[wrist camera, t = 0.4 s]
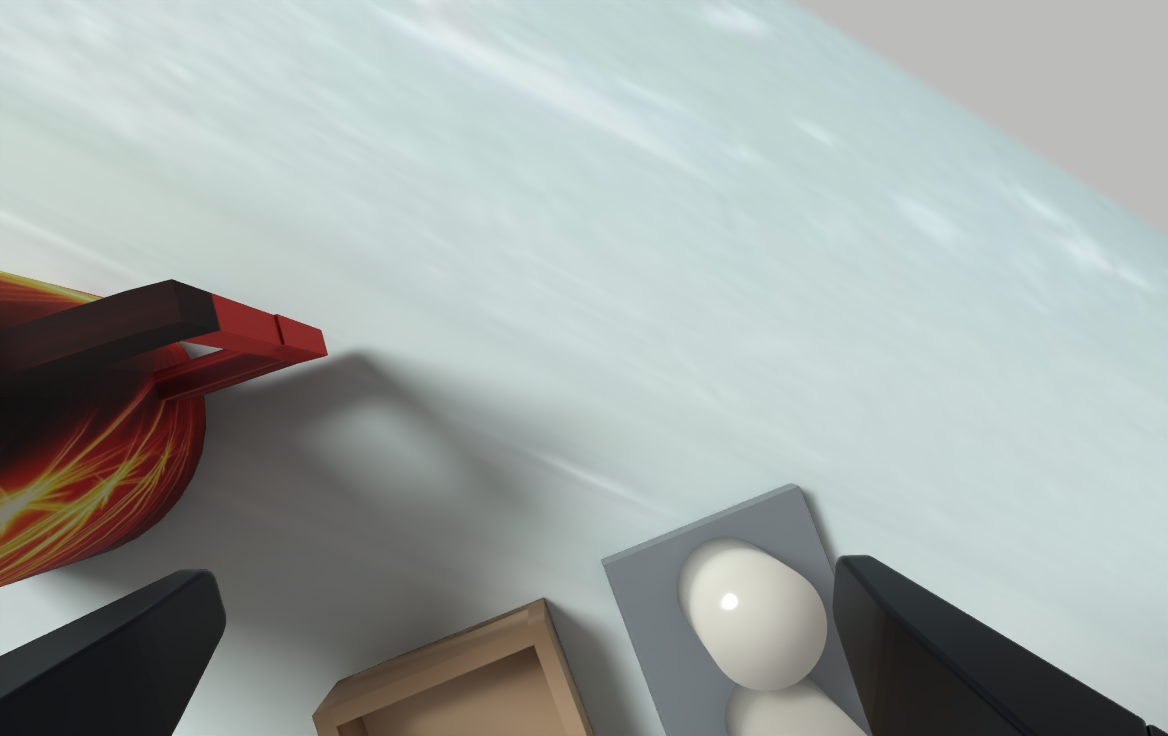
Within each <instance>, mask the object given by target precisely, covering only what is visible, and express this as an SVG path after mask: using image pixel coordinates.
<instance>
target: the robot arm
mask: <svg viewBox="0 0 1168 736" xmlns="http://www.w3.org/2000/svg"><path fill="white" fill-rule="evenodd" d="M832 613H833V619H834V623H835V626H836V629H837V632H838V635H839V638H840V641H841V644H842V647H843V650H844V653H845V656H846V659H847V662H848V665H849V668H850V672H851V675H852V678H853V681H854V684H855V687H856V690H857V693H858V696H859V699H860V702H861V705H862V708H863V711H864V714H865V717H866V719H867V722H868V725H869V728H870V731H871V733H872V735H873V736H1168V734H1167V733H1166V732H1164V731H1162V730H1161V729H1159V728H1157V727H1156V726H1154V725H1147V726H1146V723H1145V721H1144V720H1143V719H1142V718H1140V717H1139V716H1137V715H1135V714H1134V713H1132V712H1130V711H1129V710H1127V709H1125V708H1124V707H1122V706H1120V705H1119V704H1117V703H1115V702H1114V701H1112V700H1110V699H1109V698H1107V697H1105V696H1104V695H1102V694H1100V693H1099V692H1097V691H1095V690H1094V689H1092V688H1090V687H1089V686H1087V685H1085V684H1084V683H1082V682H1080V681H1079V680H1077V679H1075V678H1074V677H1072V676H1070V675H1069V674H1067V673H1065V672H1064V671H1062V670H1060V669H1059V668H1057V667H1055V666H1054V665H1052V664H1050V663H1049V662H1047V661H1045V660H1044V659H1042V658H1040V657H1039V656H1037V655H1035V654H1034V653H1032V652H1030V651H1029V650H1027V649H1025V648H1024V647H1022V646H1020V645H1019V644H1017V643H1015V642H1014V641H1012V640H1010V639H1009V638H1007V637H1005V636H1004V635H1002V634H1000V633H999V632H997V631H995V630H994V629H992V628H990V627H989V626H987V625H985V624H983V623H982V622H980V621H978V620H977V619H975V618H973V617H972V616H970V615H968V614H967V613H965V612H963V611H962V610H960V609H958V608H957V607H955V606H953V605H952V604H950V603H948V602H947V601H945V600H943V599H942V598H940V597H938V596H937V595H935V594H933V593H932V592H930V591H928V590H927V589H925V588H923V587H922V586H920V585H918V584H917V583H915V582H913V581H912V580H910V579H908V578H907V577H905V576H903V575H902V574H900V573H898V572H897V571H895V570H893V569H892V568H890V567H888V566H887V565H885V564H883V563H882V562H880V561H878V560H877V559H875V558H873V557H871V556H869V555H843V556H841V557H840V558H838V560H837V563H836V567H835V578H834V588H833V598H832ZM225 625H226V614H225V610H224V606H223V603H222V599H221V596H220V592H219V589H218V585H217V582H216V578H215V576H214V575H213V573H212V572H211V571H209V570H206V569H200V570H181V571H177V572H175V573H173V574H171V575H169V576H166V577H164V578H162V579H160V580H158V581H156V582H154V583H152V584H150V585H148V586H146V587H144V588H141V589H139V590H137V591H135V592H133V593H131V594H129V595H127V596H125V597H123V598H121V599H119V600H116V601H114V602H112V603H110V604H108V605H106V606H104V607H102V608H100V609H98V610H96V611H93V612H91V613H89V614H87V615H85V616H83V617H81V618H79V619H77V620H75V621H73V622H71V623H68V624H66V625H64V626H62V627H60V628H58V629H56V630H54V631H52V632H50V633H48V634H46V635H43V636H41V637H39V638H37V639H35V640H33V641H31V642H29V643H27V644H25V645H23V646H21V647H18V648H16V649H14V650H12V651H10V652H8V653H6V654H4V655H2V656H0V736H172V734H173V732H174V730H175V728H176V726H177V724H178V723H179V721H180V719H181V717H182V715H183V713H184V711H185V709H186V707H187V705H188V703H189V701H190V699H191V697H192V695H193V693H194V691H195V689H196V687H197V685H198V683H199V681H200V679H201V677H202V675H203V673H204V671H205V669H206V667H207V665H208V663H209V661H210V659H211V657H212V655H213V653H214V651H215V649H216V647H217V645H218V643H219V641H220V639H221V637H222V635H223V632H224V629H225Z"/></svg>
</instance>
